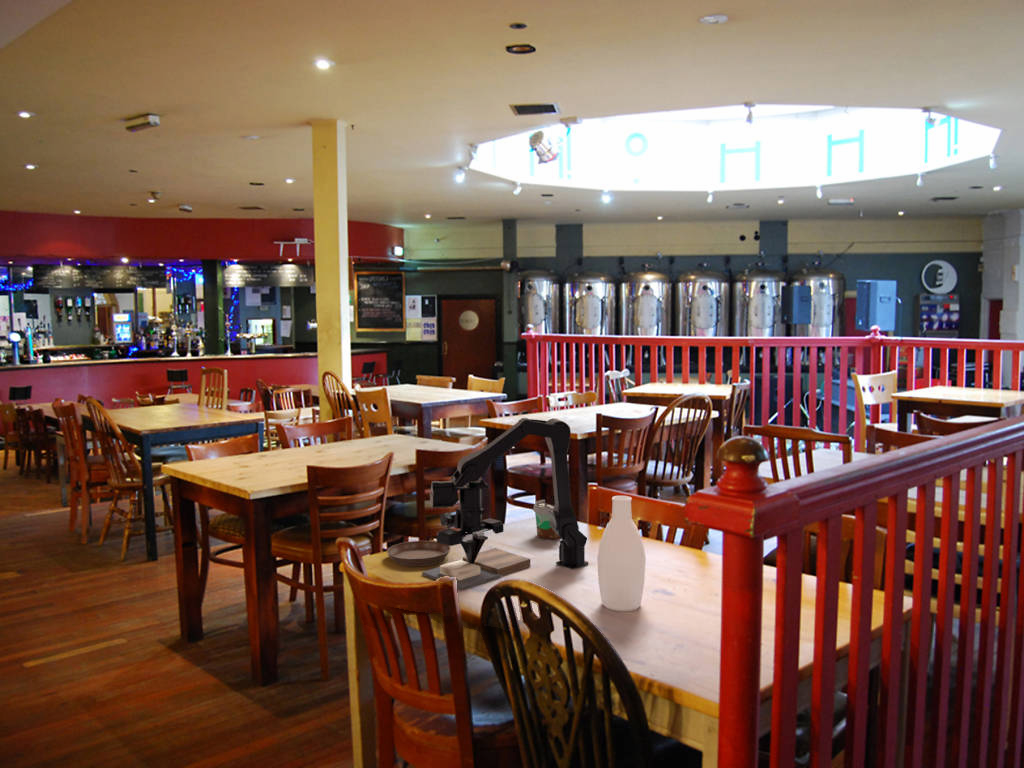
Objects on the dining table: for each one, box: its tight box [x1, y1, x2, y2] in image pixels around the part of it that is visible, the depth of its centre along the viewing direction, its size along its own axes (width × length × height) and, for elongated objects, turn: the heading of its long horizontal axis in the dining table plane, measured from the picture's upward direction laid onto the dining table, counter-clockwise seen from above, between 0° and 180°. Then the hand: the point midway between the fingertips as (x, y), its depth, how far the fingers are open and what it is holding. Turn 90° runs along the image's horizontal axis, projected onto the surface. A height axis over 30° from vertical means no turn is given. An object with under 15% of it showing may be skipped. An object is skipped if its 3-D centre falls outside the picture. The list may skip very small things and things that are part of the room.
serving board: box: [462, 547, 531, 577], centre depth 215 cm, size 14×12×2 cm
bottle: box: [597, 495, 647, 612], centre depth 184 cm, size 11×11×25 cm
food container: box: [532, 499, 561, 541], centre depth 241 cm, size 12×6×10 cm, turn 25°
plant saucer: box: [386, 540, 452, 567], centre depth 222 cm, size 18×18×3 cm
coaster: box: [439, 559, 480, 581], centre depth 206 cm, size 8×7×2 cm
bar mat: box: [421, 566, 501, 591], centre depth 206 cm, size 16×13×1 cm
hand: (471, 563), depth 208 cm, fingers closed
